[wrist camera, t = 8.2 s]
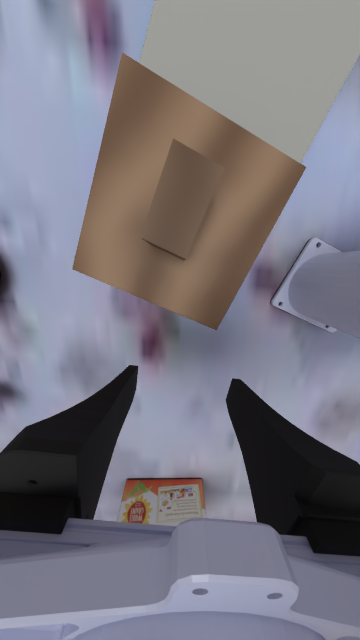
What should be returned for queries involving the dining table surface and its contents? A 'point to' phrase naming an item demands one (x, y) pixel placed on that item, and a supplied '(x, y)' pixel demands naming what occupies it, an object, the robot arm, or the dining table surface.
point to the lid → (179, 198)
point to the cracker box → (162, 501)
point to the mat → (258, 60)
